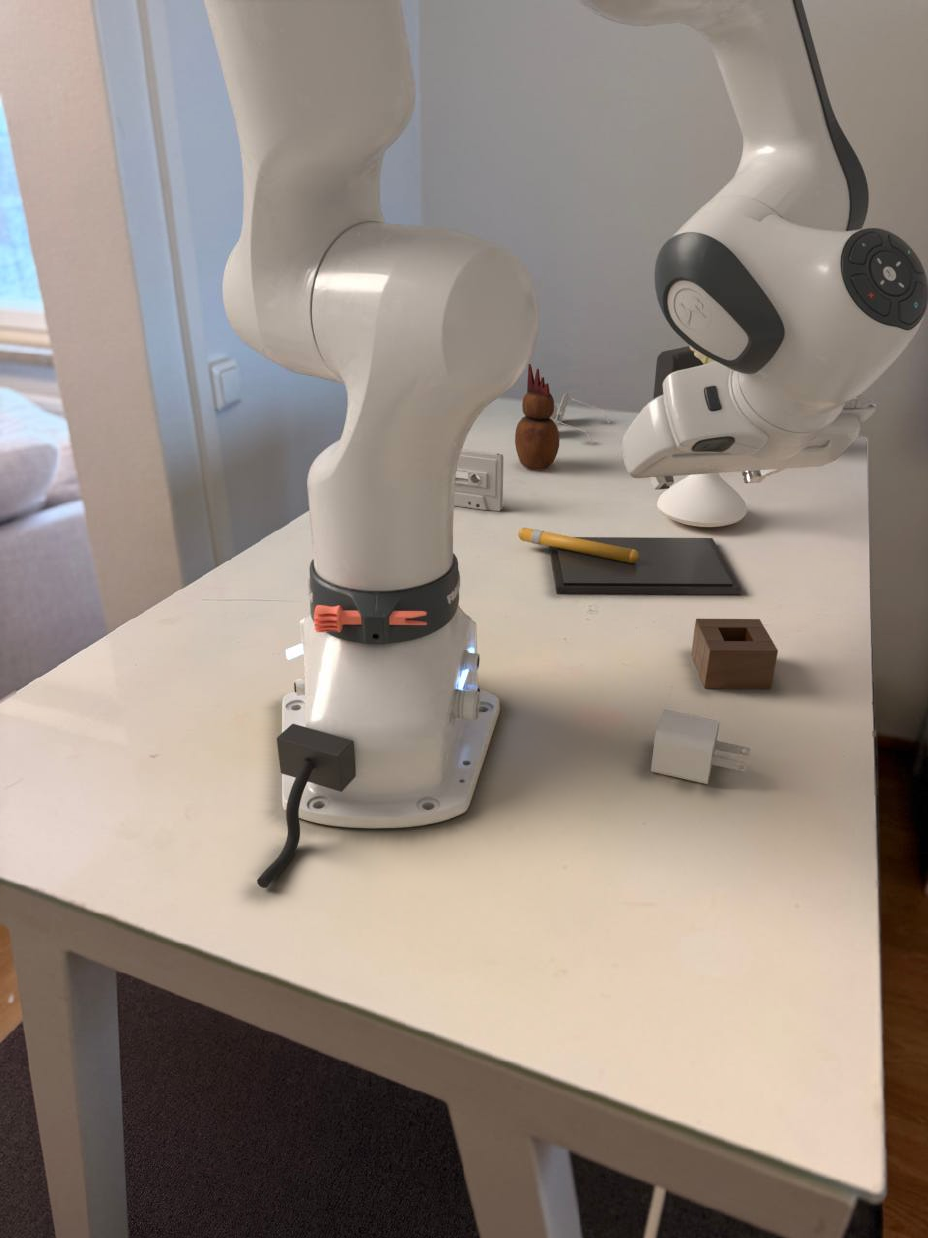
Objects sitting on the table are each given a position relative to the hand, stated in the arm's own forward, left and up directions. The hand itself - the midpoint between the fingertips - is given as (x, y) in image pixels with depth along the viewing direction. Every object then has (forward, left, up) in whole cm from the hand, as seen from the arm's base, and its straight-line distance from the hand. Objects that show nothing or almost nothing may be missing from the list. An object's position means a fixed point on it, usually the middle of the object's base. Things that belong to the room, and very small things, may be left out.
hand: (704, 479), depth 86 cm
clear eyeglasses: (+68, +5, -15) cm, 69 cm away
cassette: (+32, +24, -15) cm, 43 cm away
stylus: (+11, +3, -13) cm, 18 cm away
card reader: (+61, -10, -15) cm, 63 cm away
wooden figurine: (+49, +13, -15) cm, 53 cm away
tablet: (+13, +3, -15) cm, 20 cm away
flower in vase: (+29, -7, -15) cm, 33 cm away
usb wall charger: (-25, +4, -15) cm, 30 cm away
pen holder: (-10, -2, -15) cm, 18 cm away
